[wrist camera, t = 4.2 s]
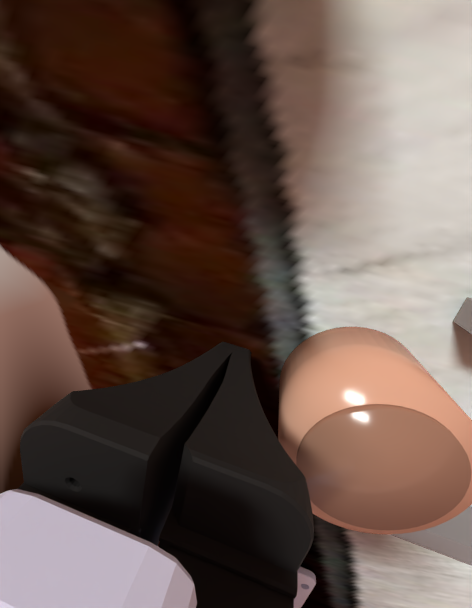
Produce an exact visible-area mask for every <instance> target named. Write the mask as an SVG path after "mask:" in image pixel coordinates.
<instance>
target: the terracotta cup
mask: <svg viewBox="0 0 472 608" xmlns="http://www.w3.org/2000/svg"><path fill="white" fill-rule="evenodd" d="M278 441H279V442H280V444H281V445H282V447H283V448H284V450H285V451H286V453H287V454H288V455H289V457H290V458H291V459H292V461H293V462H294V463H295V464H296V466H297V467H298V468H299V470H300V471H301V472H302V473H303V475H304V476H305V478H306V482H307V487H308V491H309V496H310V502H311V507H312V513H313V514H315V515H316V516H318V517H320V518H322V519H324V520H326V521H327V522H330V523H332V524H335V525H337V526H340V527H343V528H347V529H350V530H354V531H359V532H365V533H372V534H403V533H411V532H416V531H421V530H425V529H428V528H432V527H435V526H437V525H440V524H442V523H445V522H447V521H449V520H450V519H452V518H454V517H456V516H458V515H459V514H460V513H462V512H463V511H464V510H466V509H467V508H468V507H469V506H470V505H471V504H472V420H471V419H470V418H469V417H468V416H467V415H466V413H465V412H464V411H463V410H462V409H461V408H460V407H459V406H458V405H457V403H456V402H455V401H454V400H453V399H452V398H451V397H450V396H449V395H448V394H447V392H446V391H445V390H444V389H443V388H442V387H441V386H440V385H439V384H438V382H437V381H436V380H435V379H434V378H433V377H432V376H431V375H430V374H429V372H428V371H427V370H426V369H425V368H424V367H423V366H422V365H421V364H420V362H419V361H418V360H417V359H416V358H415V357H414V356H413V355H412V354H411V352H410V351H409V350H408V349H407V348H406V347H405V346H404V345H402V344H401V343H400V342H399V341H397V340H396V339H394V338H393V337H391V336H389V335H387V334H385V333H382V332H379V331H376V330H373V329H368V328H362V327H340V328H334V329H330V330H326V331H323V332H320V333H317V334H315V335H313V336H311V337H309V338H308V339H306V340H305V341H303V342H302V343H301V344H299V345H298V346H297V347H296V348H295V349H294V350H293V351H292V352H291V354H290V355H289V356H288V358H287V359H286V361H285V363H284V365H283V368H282V371H281V374H280V383H279V422H278Z"/></svg>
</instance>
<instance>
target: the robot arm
mask: <svg viewBox="0 0 472 608" xmlns="http://www.w3.org/2000/svg"><path fill="white" fill-rule="evenodd" d="M20 453H21V460H22V469H23V477H24V483H23V484H22V485H21V486H20V487H19V488H18V489H16V490H10V491H7V492H4V493H2V494H0V608H301V607H302V605H303V604H304V602H305V601H306V599H307V597H308V596H309V594H310V593H311V591H312V590H313V588H314V586H315V585H316V576H315V574H314V573H313V572H312V571H310V570H308V569H305V568H303V567H301V564H302V562H303V560H304V559H305V557H306V555H307V553H308V551H309V550H310V548H311V545H312V542H313V538H314V523H313V514H312V507H311V502H310V496H309V491H308V487H307V482H306V478H305V476H304V475H303V473H302V472H301V471H300V470H299V468H298V467H297V466H296V464H295V463H294V462H293V461H292V459H291V458H290V457H289V455H288V454H287V453H286V451H285V450H284V448H283V447H282V445H281V444H280V442H279V441H278V439H277V437H276V435H275V433H274V431H273V430H272V428H271V426H270V424H269V422H268V420H267V418H266V416H265V414H264V411H263V409H262V406H261V404H260V401H259V398H258V395H257V392H256V389H255V385H254V381H253V376H252V370H251V352H250V350H248V349H245V348H242V347H238V346H235V345H232V344H229V343H225V342H222V343H220V344H218V345H217V346H215V347H214V348H212V349H211V350H209V351H208V352H206V353H205V354H203V355H201V356H200V357H198V358H196V359H194V360H193V361H191V362H189V363H187V364H185V365H183V366H181V367H179V368H177V369H174V370H172V371H170V372H167V373H164V374H162V375H159V376H155V377H152V378H148V379H145V380H142V381H138V382H134V383H129V384H125V385H119V386H114V387H108V388H101V389H92V390H83V391H73V392H71V393H70V394H68V395H67V396H66V397H64V398H63V399H61V400H60V401H59V402H57V403H56V404H55V405H54V406H52V407H51V408H50V409H49V410H47V411H46V412H45V413H44V414H43V415H41V416H40V417H39V418H38V419H37V420H35V421H34V422H33V423H31V424H30V425H29V426H28V427H27V428H25V429H24V432H23V434H22V436H21V442H20ZM159 541H160V544H159V547H158V546H157V545H158V542H159Z"/></svg>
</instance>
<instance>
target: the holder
mask: <svg viewBox="0 0 472 608" xmlns="http://www.w3.org/2000/svg"><path fill="white" fill-rule="evenodd" d="M453 322H455V323H456V324H458V325H459V326H460V327H462V328H463V329H465V330H466V331H468V332H469V333H470V334H472V299H471V298H468V297H467V299H466V300H465V302H464V304H463V305H462V307H461V309H460V311H459V312H458V314H457V316H456V317H455V319H454V321H453ZM390 535H393V536H395V537H398V538H401V539H403V540H406V541H409V542H411V543H414V544H416V545H419V546H422V547H424V548H427V549H430V550H432V551H435V552H437V553H440V554H443V555H445V556H448V557H451V558H453V559H456V560H459V561H461V562H464V563H466V564H469V565H472V507H468V508H467V509H466V510H464V511H463V512H462V513H460V514H459V515H458V516H456V517H454V518H452V519H450V520H449V521H447V522H445V523H442V524H440V525H437V526H435V527H432V528H428V529H425V530H421V531H416V532H411V533H403V534H390Z"/></svg>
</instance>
